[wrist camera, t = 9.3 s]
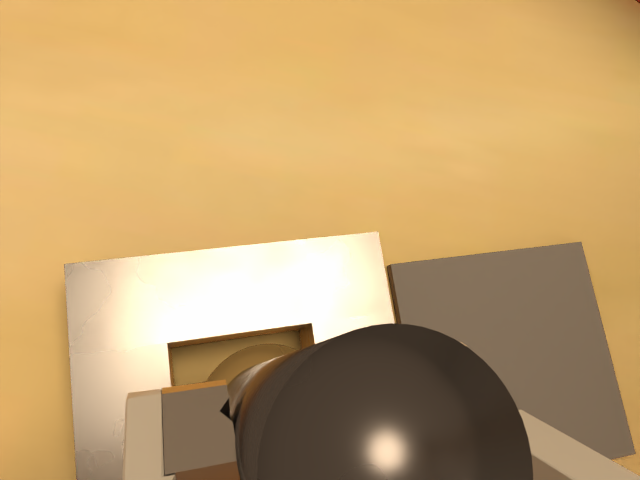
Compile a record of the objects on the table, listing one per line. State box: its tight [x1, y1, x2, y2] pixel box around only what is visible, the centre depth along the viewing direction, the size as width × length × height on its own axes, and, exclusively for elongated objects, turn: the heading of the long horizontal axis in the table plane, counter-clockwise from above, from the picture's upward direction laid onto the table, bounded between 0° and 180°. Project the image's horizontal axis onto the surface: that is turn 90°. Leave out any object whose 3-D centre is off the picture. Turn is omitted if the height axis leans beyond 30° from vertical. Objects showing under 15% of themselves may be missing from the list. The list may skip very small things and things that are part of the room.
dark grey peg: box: [206, 323, 533, 480], centre depth 11 cm, size 4×4×12 cm
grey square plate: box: [387, 242, 636, 460], centre depth 26 cm, size 10×10×1 cm
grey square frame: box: [64, 232, 395, 480], centre depth 22 cm, size 12×12×3 cm
